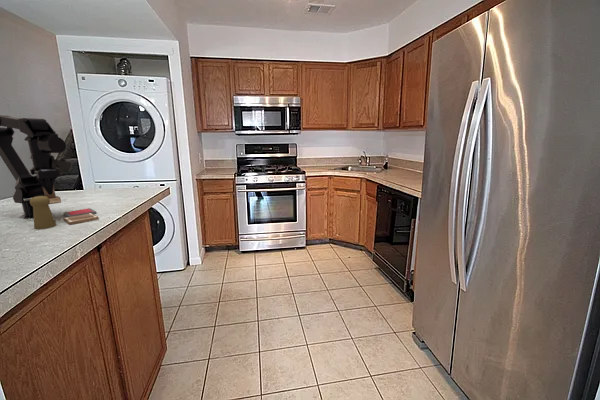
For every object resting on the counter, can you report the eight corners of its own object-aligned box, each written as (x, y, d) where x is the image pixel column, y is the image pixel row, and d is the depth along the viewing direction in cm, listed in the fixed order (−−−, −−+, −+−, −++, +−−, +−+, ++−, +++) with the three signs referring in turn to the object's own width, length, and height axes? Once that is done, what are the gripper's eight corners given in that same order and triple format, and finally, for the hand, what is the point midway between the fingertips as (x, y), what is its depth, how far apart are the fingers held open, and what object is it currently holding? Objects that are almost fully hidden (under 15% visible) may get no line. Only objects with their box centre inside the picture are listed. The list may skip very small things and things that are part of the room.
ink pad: (64, 214, 118) (63, 212, 117) (90, 210, 124) (89, 207, 124) (69, 218, 112) (68, 215, 112) (96, 213, 118) (96, 211, 118)
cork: (43, 229, 99) (36, 198, 96) (29, 228, 100) (22, 198, 98) (60, 224, 105) (54, 195, 102) (47, 223, 106) (41, 194, 103)
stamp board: (63, 220, 109) (63, 217, 109) (91, 215, 116) (91, 212, 116) (69, 225, 104) (69, 222, 103) (98, 219, 110) (98, 216, 110)
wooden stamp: (42, 203, 111) (36, 180, 109) (58, 200, 115) (53, 178, 113) (44, 205, 108) (39, 181, 106) (61, 202, 112) (56, 179, 110)
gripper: (73, 152, 107) (81, 193, 111) (62, 151, 119) (69, 188, 123) (34, 154, 99) (43, 198, 103) (26, 152, 111) (35, 192, 114)
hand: (49, 193), depth 111 cm, fingers closed on wooden stamp, 3 cm apart
